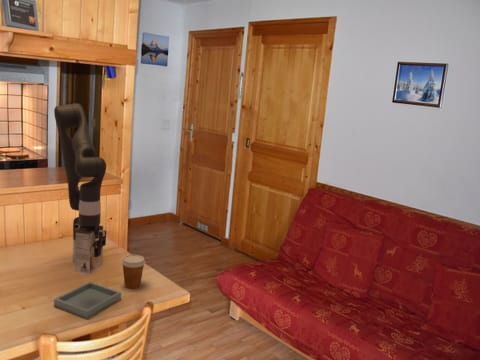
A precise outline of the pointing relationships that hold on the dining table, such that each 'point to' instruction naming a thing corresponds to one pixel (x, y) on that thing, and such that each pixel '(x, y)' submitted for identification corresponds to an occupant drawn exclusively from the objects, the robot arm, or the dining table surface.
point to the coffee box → (86, 251)
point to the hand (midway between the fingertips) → (89, 254)
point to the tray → (87, 300)
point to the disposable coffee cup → (133, 270)
